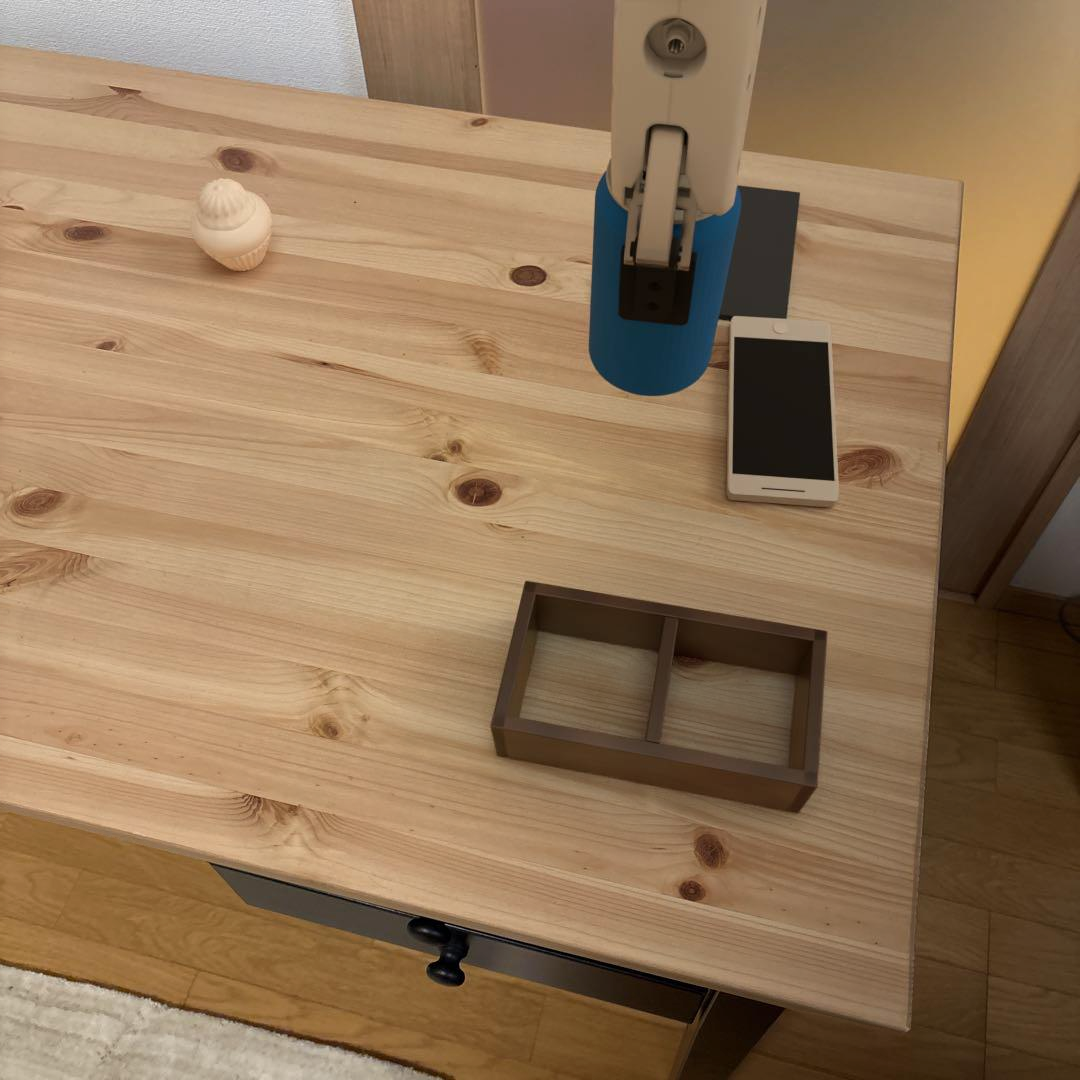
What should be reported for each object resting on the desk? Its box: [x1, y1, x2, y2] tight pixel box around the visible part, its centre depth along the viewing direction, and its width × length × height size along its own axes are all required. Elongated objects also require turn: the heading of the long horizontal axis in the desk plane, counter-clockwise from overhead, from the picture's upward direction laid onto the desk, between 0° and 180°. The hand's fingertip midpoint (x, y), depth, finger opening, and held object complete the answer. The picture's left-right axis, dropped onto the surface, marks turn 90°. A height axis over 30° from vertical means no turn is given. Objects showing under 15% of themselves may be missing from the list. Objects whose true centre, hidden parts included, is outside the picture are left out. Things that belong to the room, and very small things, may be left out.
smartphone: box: [726, 316, 840, 508], centre depth 69 cm, size 7×15×1 cm, turn 174°
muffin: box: [189, 177, 273, 272], centre depth 76 cm, size 6×6×7 cm
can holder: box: [490, 580, 829, 814], centre depth 57 cm, size 17×9×5 cm, turn 78°
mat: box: [718, 184, 801, 321], centre depth 77 cm, size 14×14×1 cm
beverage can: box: [588, 158, 741, 397], centre depth 48 cm, size 6×6×12 cm
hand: (663, 259), depth 48 cm, fingers closed on beverage can, 6 cm apart
